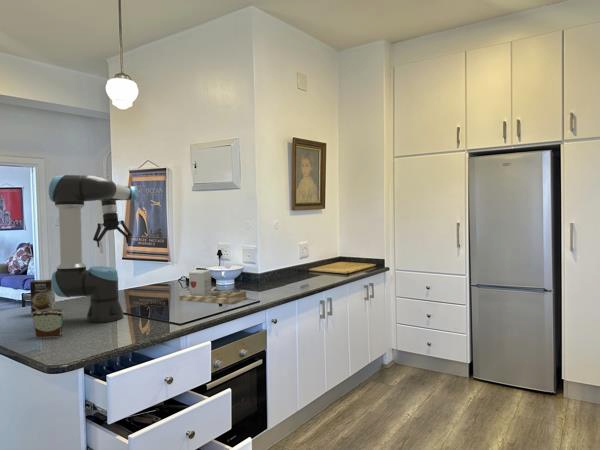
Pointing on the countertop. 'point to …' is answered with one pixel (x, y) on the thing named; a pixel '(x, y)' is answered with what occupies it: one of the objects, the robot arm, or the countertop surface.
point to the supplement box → (200, 283)
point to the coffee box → (42, 295)
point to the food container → (48, 322)
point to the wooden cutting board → (229, 295)
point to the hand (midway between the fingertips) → (114, 251)
